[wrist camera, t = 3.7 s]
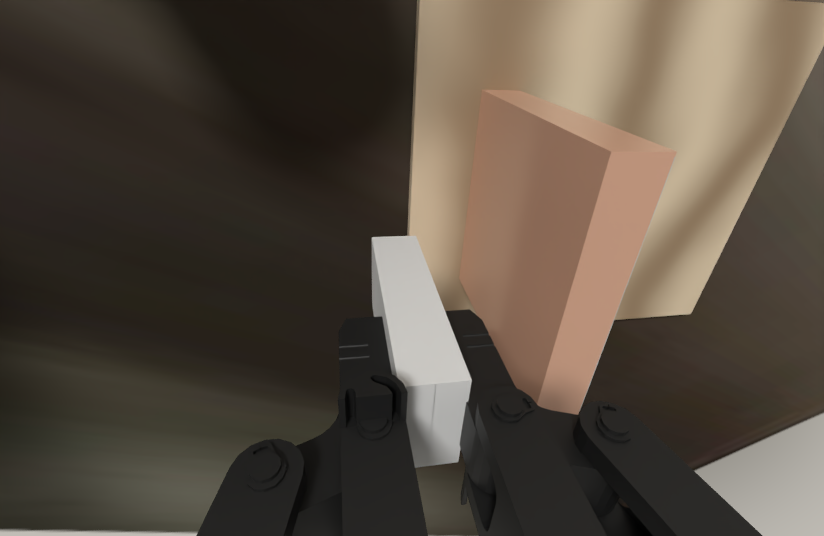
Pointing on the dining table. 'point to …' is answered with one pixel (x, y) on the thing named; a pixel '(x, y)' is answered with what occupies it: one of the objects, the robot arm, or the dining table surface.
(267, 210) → the dining table surface
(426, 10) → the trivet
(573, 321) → the tile
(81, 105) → the dining table surface
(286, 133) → the dining table surface
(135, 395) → the dining table surface
